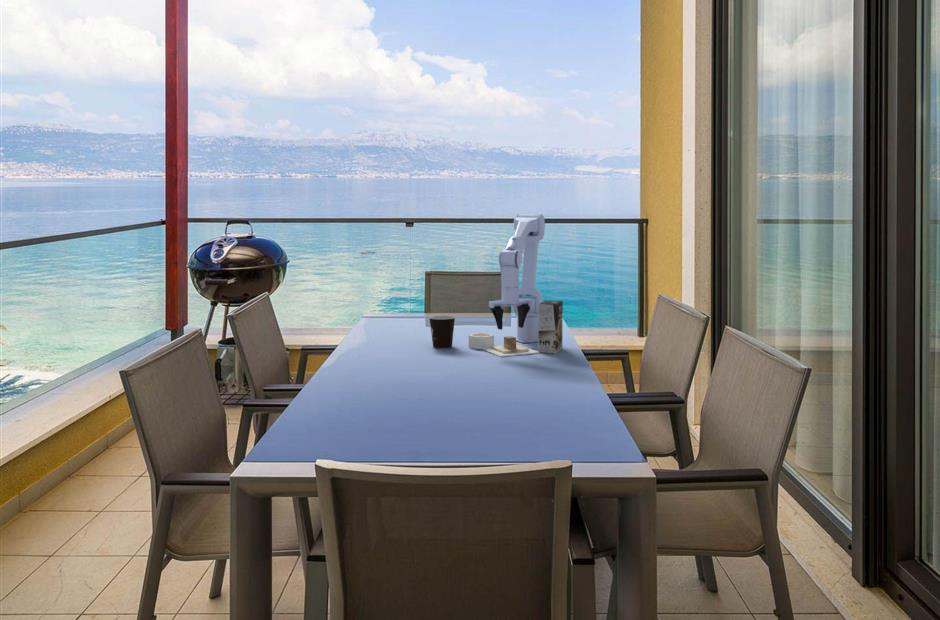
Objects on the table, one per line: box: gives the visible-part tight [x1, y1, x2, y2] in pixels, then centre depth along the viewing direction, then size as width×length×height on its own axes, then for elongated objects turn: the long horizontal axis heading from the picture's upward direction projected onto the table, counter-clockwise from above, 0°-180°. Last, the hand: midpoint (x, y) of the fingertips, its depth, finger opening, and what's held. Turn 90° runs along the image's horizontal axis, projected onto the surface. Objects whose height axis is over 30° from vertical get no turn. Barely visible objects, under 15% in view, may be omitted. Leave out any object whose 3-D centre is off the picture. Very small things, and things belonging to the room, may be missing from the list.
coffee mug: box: [428, 314, 456, 349], centre depth 289 cm, size 12×9×10 cm
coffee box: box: [537, 300, 564, 354], centre depth 279 cm, size 9×6×16 cm
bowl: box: [468, 332, 495, 350], centre depth 287 cm, size 8×8×4 cm
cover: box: [492, 335, 530, 354], centre depth 279 cm, size 9×9×4 cm
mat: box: [481, 344, 540, 358], centre depth 279 cm, size 14×14×1 cm
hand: (510, 328), depth 278 cm, fingers open, 7 cm apart
